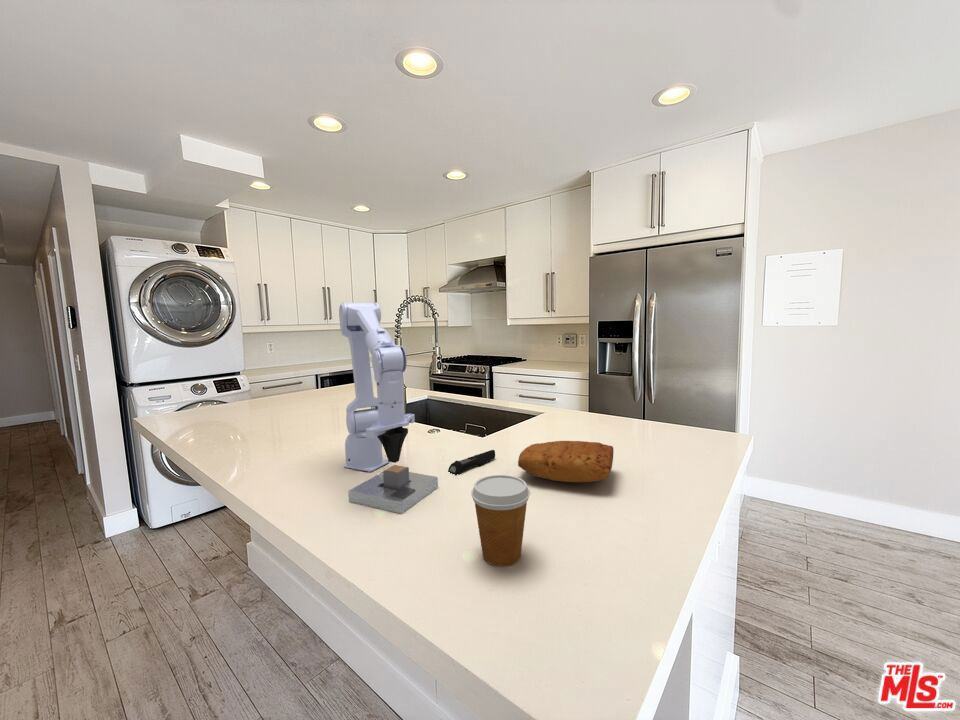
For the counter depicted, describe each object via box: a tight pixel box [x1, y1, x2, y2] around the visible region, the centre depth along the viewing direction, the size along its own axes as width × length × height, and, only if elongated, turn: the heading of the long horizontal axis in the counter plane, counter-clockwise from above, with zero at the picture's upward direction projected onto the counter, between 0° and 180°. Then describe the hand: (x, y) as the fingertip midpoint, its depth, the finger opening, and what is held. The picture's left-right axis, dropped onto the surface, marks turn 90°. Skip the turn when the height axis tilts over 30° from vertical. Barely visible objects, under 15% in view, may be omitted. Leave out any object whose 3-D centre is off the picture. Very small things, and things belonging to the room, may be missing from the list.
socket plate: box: [348, 471, 439, 515], centre depth 90 cm, size 14×14×3 cm
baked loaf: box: [517, 440, 614, 483], centre depth 97 cm, size 22×17×8 cm
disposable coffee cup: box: [470, 474, 531, 567], centre depth 65 cm, size 10×10×12 cm
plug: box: [382, 464, 410, 490], centre depth 89 cm, size 4×4×6 cm
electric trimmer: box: [447, 449, 496, 476], centre depth 107 cm, size 4×16×3 cm, turn 134°
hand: (393, 461), depth 89 cm, fingers closed
